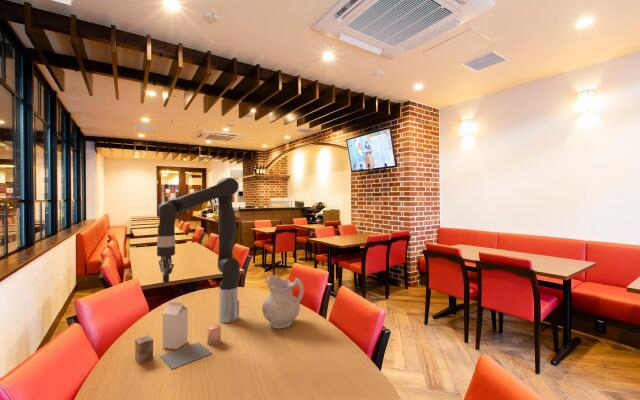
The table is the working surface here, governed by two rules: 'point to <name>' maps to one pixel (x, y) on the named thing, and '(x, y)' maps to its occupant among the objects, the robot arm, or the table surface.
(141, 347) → the wooden block
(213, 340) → the pink rounded glossy part
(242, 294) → the table surface
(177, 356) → the mat
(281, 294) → the ceramic pitcher
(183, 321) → the milk carton
